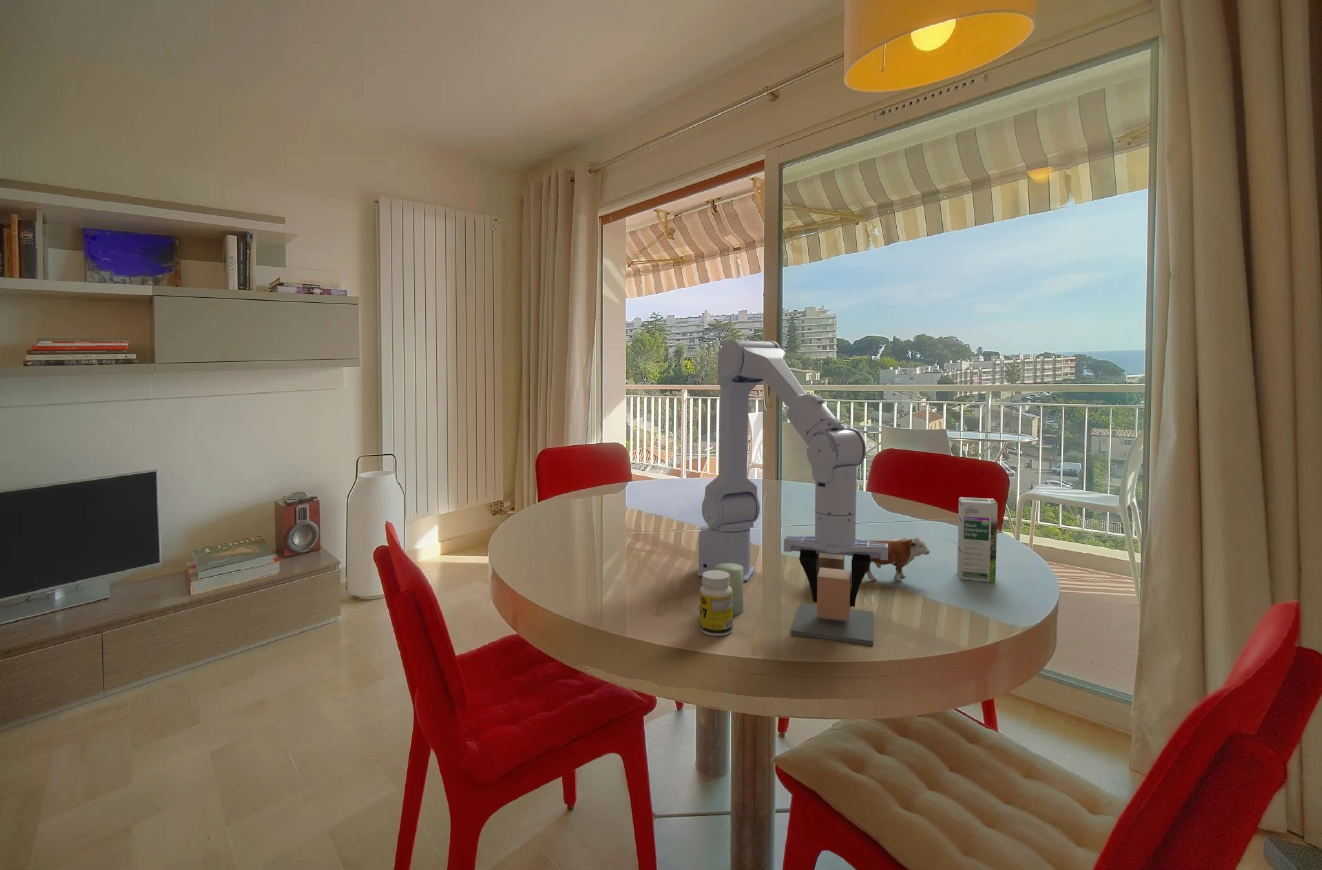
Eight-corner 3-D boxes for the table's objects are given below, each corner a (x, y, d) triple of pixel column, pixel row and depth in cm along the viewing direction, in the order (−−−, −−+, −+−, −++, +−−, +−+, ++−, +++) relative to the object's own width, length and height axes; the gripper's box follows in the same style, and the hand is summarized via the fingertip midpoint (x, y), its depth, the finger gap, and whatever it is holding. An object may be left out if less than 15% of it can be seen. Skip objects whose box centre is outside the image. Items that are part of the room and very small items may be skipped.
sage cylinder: (712, 613, 91) (711, 570, 91) (719, 603, 95) (719, 562, 95) (739, 617, 90) (739, 573, 89) (745, 607, 94) (745, 564, 93)
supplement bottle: (697, 624, 87) (697, 569, 87) (728, 623, 88) (728, 568, 87) (702, 638, 82) (702, 580, 82) (735, 636, 83) (735, 578, 82)
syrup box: (959, 580, 105) (961, 501, 104) (956, 570, 111) (958, 495, 110) (995, 584, 103) (998, 503, 102) (990, 573, 109) (993, 497, 108)
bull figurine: (930, 585, 103) (932, 539, 103) (851, 581, 106) (852, 536, 105) (924, 577, 107) (925, 533, 107) (848, 573, 110) (849, 530, 109)
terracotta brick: (816, 616, 85) (817, 576, 85) (819, 605, 89) (820, 567, 89) (849, 620, 83) (849, 579, 83) (850, 609, 88) (851, 570, 87)
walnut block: (812, 590, 101) (812, 556, 101) (815, 581, 106) (815, 549, 105) (842, 594, 99) (843, 559, 99) (843, 584, 104) (844, 551, 104)
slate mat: (791, 634, 83) (791, 630, 83) (800, 607, 94) (800, 603, 94) (873, 645, 79) (873, 641, 79) (873, 615, 90) (873, 611, 90)
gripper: (780, 514, 84) (780, 606, 85) (889, 521, 79) (887, 618, 80) (787, 504, 90) (787, 590, 92) (888, 510, 85) (886, 600, 87)
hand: (834, 602), depth 86 cm, fingers closed on terracotta brick, 4 cm apart
